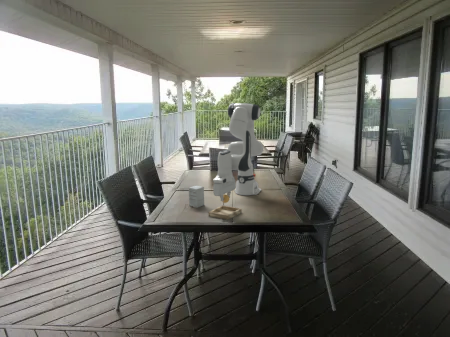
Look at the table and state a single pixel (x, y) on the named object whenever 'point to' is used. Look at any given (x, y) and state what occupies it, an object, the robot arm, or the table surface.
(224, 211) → the tray
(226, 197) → the ball
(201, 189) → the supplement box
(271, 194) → the table surface
